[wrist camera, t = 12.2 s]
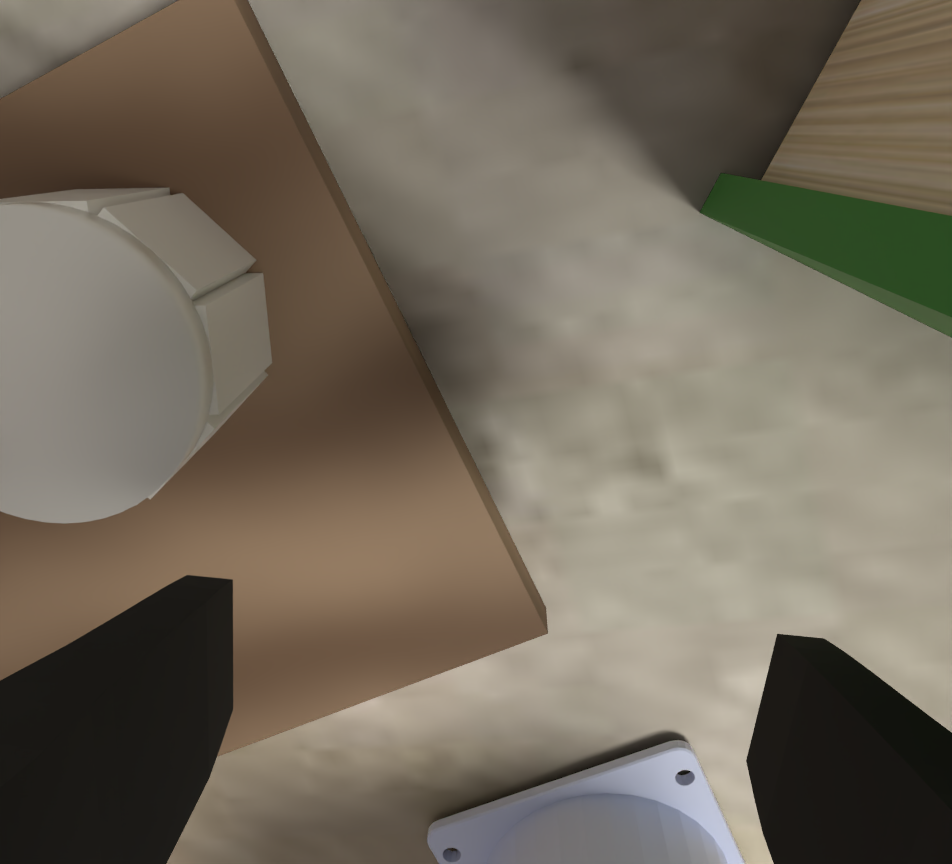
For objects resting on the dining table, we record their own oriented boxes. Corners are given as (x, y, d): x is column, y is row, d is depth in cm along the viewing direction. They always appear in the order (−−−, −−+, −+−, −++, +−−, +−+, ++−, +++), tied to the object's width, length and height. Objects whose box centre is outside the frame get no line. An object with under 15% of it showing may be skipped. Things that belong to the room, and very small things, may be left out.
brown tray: (545, 607, 22) (554, 711, 18) (-14, 819, 25) (-111, 947, 21) (240, -14, 18) (162, -57, 14) (-399, 336, 21) (-614, 385, 17)
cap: (113, 129, 17) (-13, 129, 13) (320, 318, 19) (264, 372, 14) (-33, 321, 19) (-189, 377, 15) (167, 485, 20) (75, 580, 16)
